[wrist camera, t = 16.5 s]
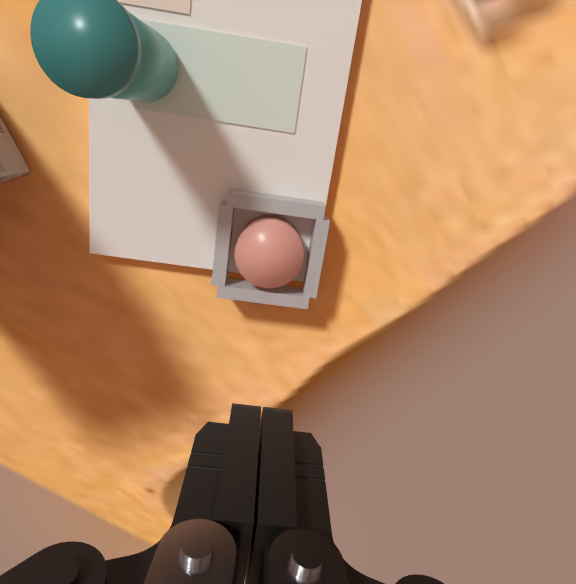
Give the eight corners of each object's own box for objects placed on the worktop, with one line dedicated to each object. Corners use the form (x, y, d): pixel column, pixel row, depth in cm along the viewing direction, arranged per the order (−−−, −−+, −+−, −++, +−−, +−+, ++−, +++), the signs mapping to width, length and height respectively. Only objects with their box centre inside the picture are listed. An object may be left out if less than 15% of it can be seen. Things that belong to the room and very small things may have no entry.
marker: (183, 32, 24) (136, -9, 16) (179, 108, 26) (134, 104, 18) (109, 20, 24) (27, -27, 16) (109, 98, 25) (33, 90, 17)
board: (371, -45, 24) (381, -62, 22) (311, 296, 31) (313, 310, 28) (94, -96, 23) (74, -119, 21) (94, 267, 30) (79, 279, 27)
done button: (306, 219, 28) (309, 226, 26) (296, 281, 29) (298, 292, 27) (241, 210, 28) (238, 217, 26) (234, 272, 29) (231, 283, 27)
